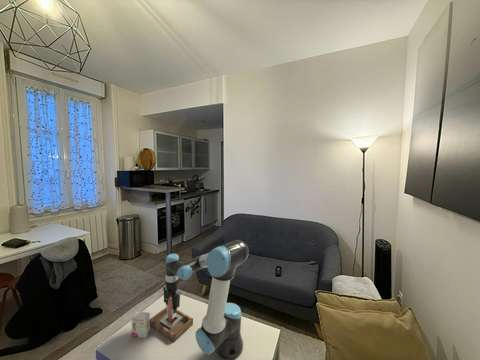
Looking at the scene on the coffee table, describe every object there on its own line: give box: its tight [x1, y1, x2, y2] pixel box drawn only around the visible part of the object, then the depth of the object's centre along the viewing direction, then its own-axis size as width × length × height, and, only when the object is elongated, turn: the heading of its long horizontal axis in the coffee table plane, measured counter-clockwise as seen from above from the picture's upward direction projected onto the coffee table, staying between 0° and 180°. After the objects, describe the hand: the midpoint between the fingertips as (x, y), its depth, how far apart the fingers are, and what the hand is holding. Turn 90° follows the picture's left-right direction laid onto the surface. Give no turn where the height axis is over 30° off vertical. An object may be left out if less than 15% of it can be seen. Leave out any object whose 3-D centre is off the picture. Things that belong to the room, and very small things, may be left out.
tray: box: [150, 307, 194, 343], centre depth 124 cm, size 22×15×4 cm
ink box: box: [131, 311, 151, 338], centre depth 116 cm, size 9×5×12 cm, turn 88°
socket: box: [159, 313, 183, 331], centre depth 124 cm, size 10×10×3 cm
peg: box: [168, 297, 175, 322], centre depth 123 cm, size 4×4×14 cm
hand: (171, 315), depth 123 cm, fingers closed on peg, 4 cm apart
